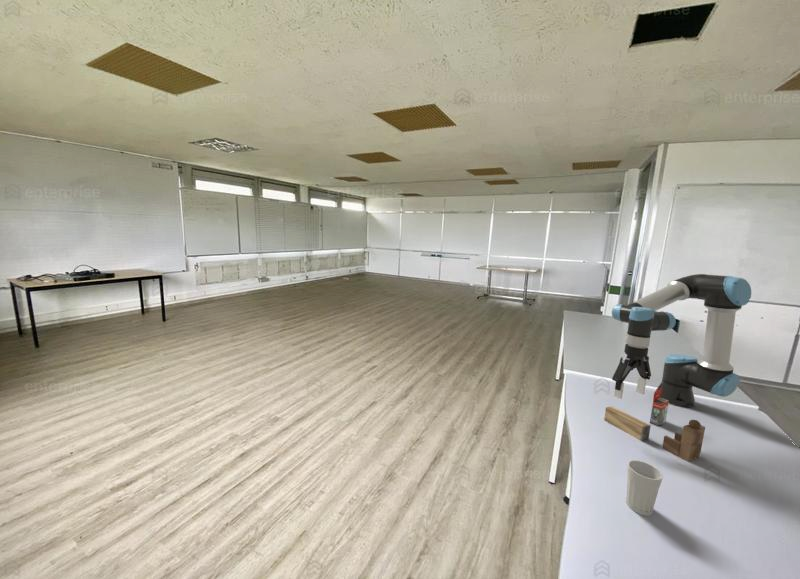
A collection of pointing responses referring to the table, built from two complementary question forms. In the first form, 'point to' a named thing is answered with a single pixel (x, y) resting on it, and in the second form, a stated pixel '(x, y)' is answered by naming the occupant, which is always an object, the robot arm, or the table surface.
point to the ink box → (658, 409)
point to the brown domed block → (686, 441)
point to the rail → (627, 423)
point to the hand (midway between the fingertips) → (629, 395)
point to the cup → (642, 486)
